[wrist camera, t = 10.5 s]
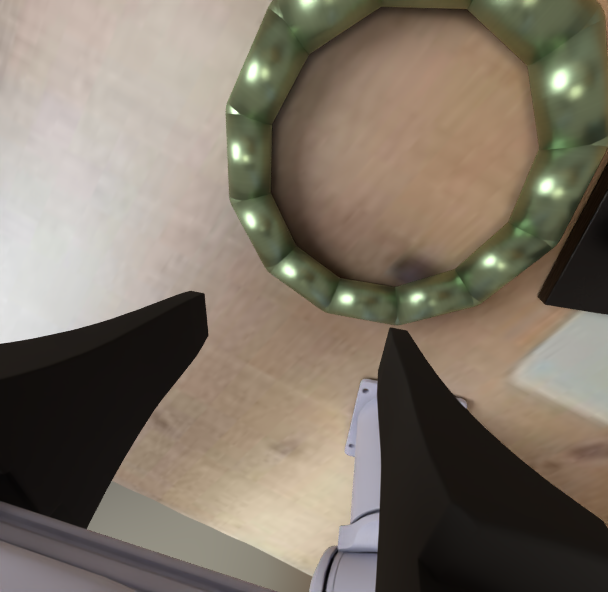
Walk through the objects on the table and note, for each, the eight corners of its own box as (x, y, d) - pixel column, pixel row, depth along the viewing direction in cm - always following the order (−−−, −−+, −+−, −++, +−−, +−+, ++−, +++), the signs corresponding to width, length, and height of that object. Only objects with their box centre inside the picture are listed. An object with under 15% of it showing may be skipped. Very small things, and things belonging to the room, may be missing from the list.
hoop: (497, 330, 20) (511, 354, 18) (241, 286, 22) (227, 301, 20) (688, -63, 11) (759, -108, 9) (232, -61, 14) (205, -95, 12)
